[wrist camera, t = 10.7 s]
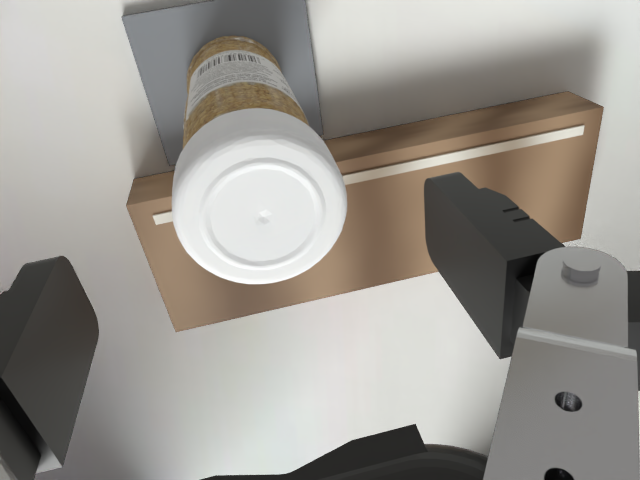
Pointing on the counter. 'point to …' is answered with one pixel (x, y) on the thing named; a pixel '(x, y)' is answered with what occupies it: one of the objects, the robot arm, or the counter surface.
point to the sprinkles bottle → (252, 170)
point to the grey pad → (204, 26)
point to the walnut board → (393, 202)
